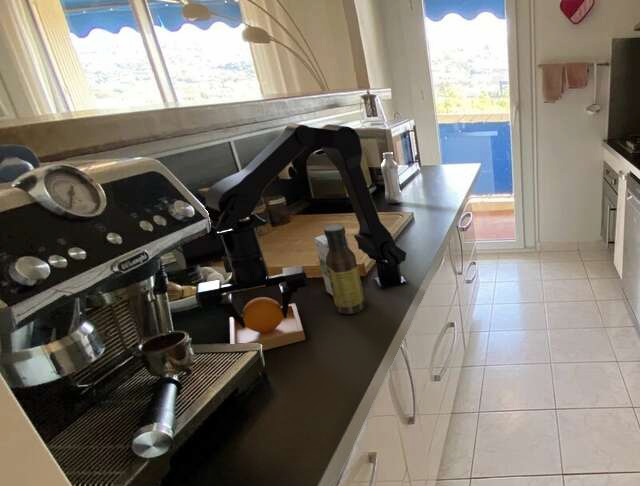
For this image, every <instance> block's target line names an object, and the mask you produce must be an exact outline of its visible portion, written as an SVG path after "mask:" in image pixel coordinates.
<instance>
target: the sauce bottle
mask: <svg viewBox="0 0 640 486" xmlns="http://www.w3.org/2000/svg"><path fill="white" fill-rule="evenodd" d="M323 233H324V235H325V236H326V237H327V241H328V247H329V251H328V253H327V255H326V266H327V271H328V275H329V279H330V284H331V288H332V292H333V296H332V297H333V301H334V304H335V307H336V310H337V312H338V313H340V314H343V315H353V314H358V313H360V312H361V311H363V309H365V297H364V296H365V295H364V291H363V286H362V281H361V277H360V270H359V266H358V263H357V258H356V254H355V253H354V251H353V250H352V249H351V248H350V247H349V248H348V246H347V242H346V238H347V237H346V228H345V226H344V225H343V224H331V225H327V226H324V228H323Z"/></svg>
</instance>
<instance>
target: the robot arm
mask: <svg viewBox="0 0 640 486" xmlns="http://www.w3.org/2000/svg"><path fill="white" fill-rule="evenodd" d="M360 137H361V136H360V135H359V133H358V132H357V130H356V129H354V128H353V127H350V126H346V125H340V124H339V125H338V124H331V123H329V124H325V125H323V126H321V127H314V126H313V127H312V126H308V125H306V124H301V123H290V124H288V125H286V127H285V128H284V130H283V131H282V132H281V133H280V134H279V135H278V136H277V137H276V138H275V139H274V140H273V141H272V142H270V144H269V145H267V146H266V148H265V147H264V149H263V150H262V151H261V152H260V153H259V154H258V155H257V156H256V157H255V158H254V159H252V160H251V161H250V162H249V163H248V164H247V165H246V166H245V167H243V169H241V170H240V171H238V172H235V173H234V174H231V175H228V176H227V177H225V178H223V179H221V180H220V181H218V182H217V183H215V184H213V185H212V186H210V187H209V188H208V189H207V190H206V192H205V195H204V197H205V205H204V208H205V209H206V210H207V211H208V213H209V217H210V222H211V231H210V232H209V233H207V234H205V235H204V236H201V237H198V238H197V239H194V240H192V241H190V242H188V243H185V244H183V245H181V246H179V247H177V248H176V249H174V250H173V251H171V253H172V256H173V257H174V259H175V261H176V263H177V264H178V266H179V267H180V268H181V269H183V270H187V269H190V268H194V267H198V266H200V265H204V264H209V263H211V262H216V261H219V260H221V259H222V263H223V268H224V271H225V273H226V274H230V273H232V275H233V279H234V281H235V282H234V283H233V282H232V283H228V284H222V282H221V280H220V279H217V280H212V281H205V282H200V283H198V284H197V286H196V287H195V293H194V294H195V295H194V296H195V300H196V303H197V306H198V308H206V307H212V306H213V308H214V309H221V310H222V311H224V312H225V313H226V314H228V315H229V316H230V317H233V318H234V319H235V320H236V321H237V322H238V323H239V324H240V325H241V326H242V327H243V328H245V323H244V322H243V319H242V312H241V311H240V309H239V307H238V305H237V303H236V300H235V297H234V295H233V294H239V293H244V292H248V291H253V290H258V289H264V288H269V287H274V286H279V292H280V303H281V304H280V305H281V306H282V311H283V315H284V318H287V312H288V306H289V304H290V302H291V299H292V296H293V294H294V293H297V292H298V291H299V290H298V289H299V288H304V287H307V286H309V280H308V276H307V273H306V271H305V268H304V267H303V266H302V265H299V264H298V265H294V266H288V267H283V268H281V271H282V273H280V274H275V275H271V276H269V274H270V272H269V269H268V266H267V262H266V260H265V257H264V253H263V249H262V246H261V243H260V238H259V235H258V232H257V227H261V226H262V227H263V226H265V225H267V224H268V222H267V220H266V219H265V220H264V219H262V218H261V217H259V216H258V215H256V213H254V211H255V210H256V208H257V207H258V205H259V204H260V203H261V200H262V198H263V194H264V192H265V190H266V188H267V187H268V186H269V185H270V184H271V183H272V182H273V181H274V180H275V179H276V178H277V177H278V176H279V175H280V174H281V173H282V172H283V171H284V170H285V169H286V168H287V167H288V166H289V165H290V164H291V163H293V161H295V159H296V158H297V157H298V156H299V155H300V154H301V153H302V152H303V151H304V150H306V148H308V147H316V148H317V147H319V148H321V150H322V151H323V152H324V155H325V156H326V157H327V159H328V160H329V161H330V162H331V163H332V164H333V165H334V167H335V168H336V169H337V171H338V173H339V176H340V178H341V181H342V183H343V186H344V188H345V191H346V194H347V197H348V199H349V202H350V204H351V207H352V210H353V212H354V214H355V217H356V219H357V223H358V225H359V230H358V233H356V234H354V235H353V237H354V239H355V241H356V243H357V249H358V250H359V251H360V250H361V252H362V253H364V254H365V255H367V257H368V258H369V259H370V260H374V261H375V266H376V273H377V277H374V281H375V282H376V283H377V285H378V286H379V288H380V289H386V288H390V287H395V286H399V285H403V284H406V283H407V280H406V279H405V278H404V276H402V271H401V264H402V263H403V262H406V259H407V252H406V251H405V250H403V249H402V248H400V247H399V246H398V245H397V243H396V241H395V239H394V237H393V235H392V233H391V232H390V231H389V230H388V228H387V227H386V226H385V225H384V224H383V223H382V222H381V219H380V216H379V213H378V211H377V208H376V205H375V202H374V200H373V197H372V194H371V191H370V188H369V186H368V183H367V180H366V177H365V174H364V171H363V169H362V164H361V163H362V158H363V148H362V144H361V138H360ZM219 217H220V218H219ZM225 253H226V256H225ZM224 256H225V257H224Z"/></svg>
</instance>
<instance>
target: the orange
mask: <svg viewBox="0 0 640 486" xmlns="http://www.w3.org/2000/svg"><path fill="white" fill-rule="evenodd" d="M281 306H282V305H281V304H280V303H279V302H278V301H277V300H275V299H273V298H270V297H265V296H262V297H261V296H260V297H256V298H253V299H251V300H250V301H248V302H247V303H246V304H245V305H244V307H243V309H242V312H241V315H242V319H243V322H244V323H245V325H246V326H247V327H248V328H249V329H251V330H253V331H256V332H268V331H271V330H273V329H275V328H276V327H277V326H278V325H279V324H280V323H281V321H282V318H283V311H282V308H281Z"/></svg>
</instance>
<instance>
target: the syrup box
mask: <svg viewBox="0 0 640 486" xmlns="http://www.w3.org/2000/svg"><path fill="white" fill-rule="evenodd" d="M313 240H314V244H315V249H316V252H317V253H316V254H317V256H318V261H319V265H320V270H321V273H322V278H323V282H324V286H325V291H326V293H327V294H329V295H330V296H332V297H333V292H332V288H331V284H330V279H329V275H328V271H327V266H326V255H327V253H328V251H329V247H328V241H327V237H326V236H325V234H322V235H319V236H317V237H314V238H313ZM346 242H347V246H348V248H349V249H350V245H349V240H348V237H346Z"/></svg>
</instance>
